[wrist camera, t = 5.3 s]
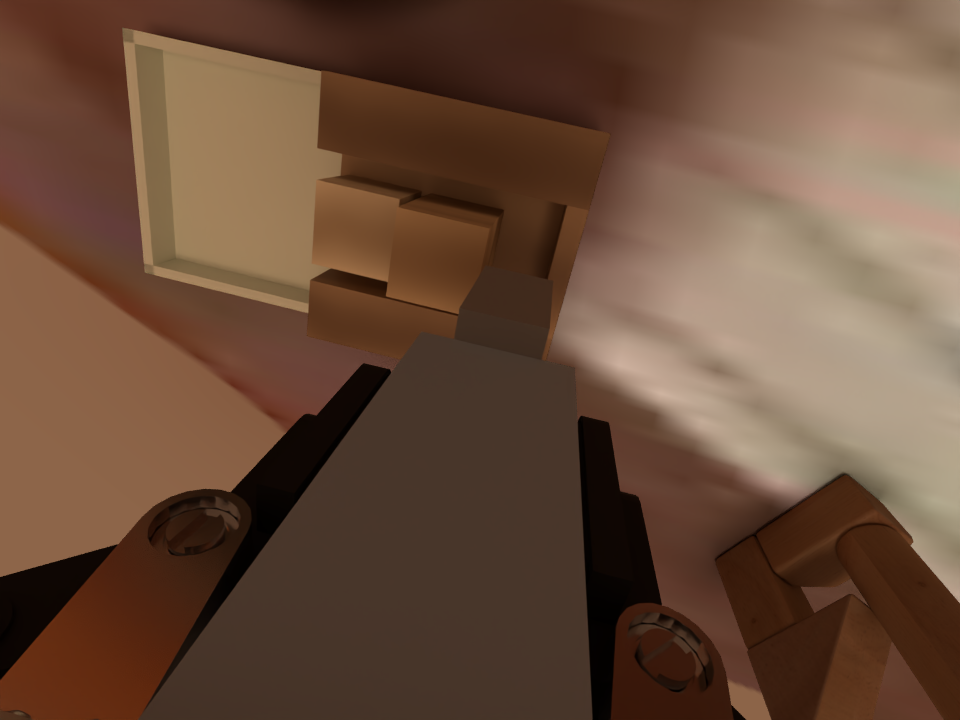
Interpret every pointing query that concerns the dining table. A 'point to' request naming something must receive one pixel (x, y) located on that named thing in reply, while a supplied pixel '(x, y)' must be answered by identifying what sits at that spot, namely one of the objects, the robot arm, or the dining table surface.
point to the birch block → (357, 224)
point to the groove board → (452, 196)
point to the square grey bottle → (422, 549)
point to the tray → (226, 167)
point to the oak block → (441, 250)
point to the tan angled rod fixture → (841, 609)
